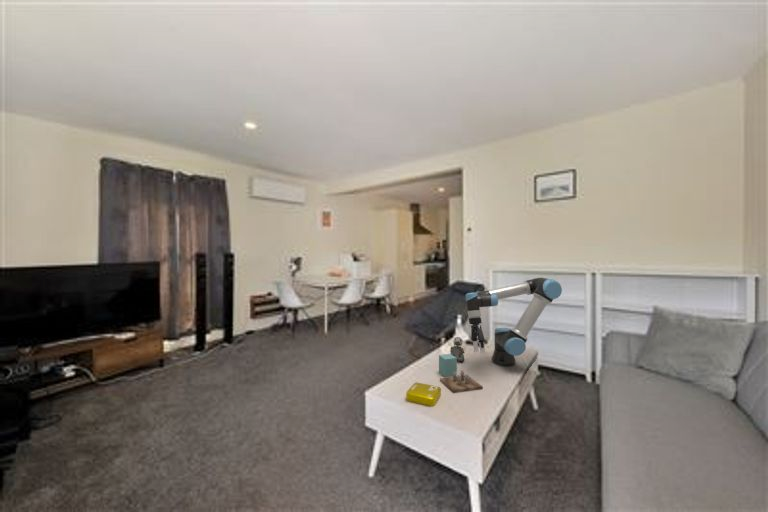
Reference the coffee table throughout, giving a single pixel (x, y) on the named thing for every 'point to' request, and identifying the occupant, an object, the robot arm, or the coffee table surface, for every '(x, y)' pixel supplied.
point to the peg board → (462, 387)
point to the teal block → (447, 365)
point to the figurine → (457, 349)
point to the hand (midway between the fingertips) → (479, 352)
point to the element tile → (423, 394)
